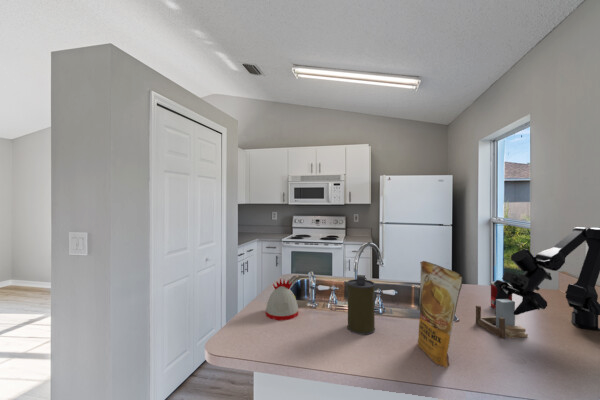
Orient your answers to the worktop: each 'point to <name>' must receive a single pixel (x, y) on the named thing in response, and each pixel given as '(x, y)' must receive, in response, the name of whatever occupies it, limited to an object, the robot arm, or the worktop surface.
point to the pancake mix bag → (437, 310)
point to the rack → (490, 323)
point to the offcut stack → (515, 332)
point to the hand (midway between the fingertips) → (504, 309)
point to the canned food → (494, 293)
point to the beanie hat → (282, 302)
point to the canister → (361, 306)
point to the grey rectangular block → (505, 311)
